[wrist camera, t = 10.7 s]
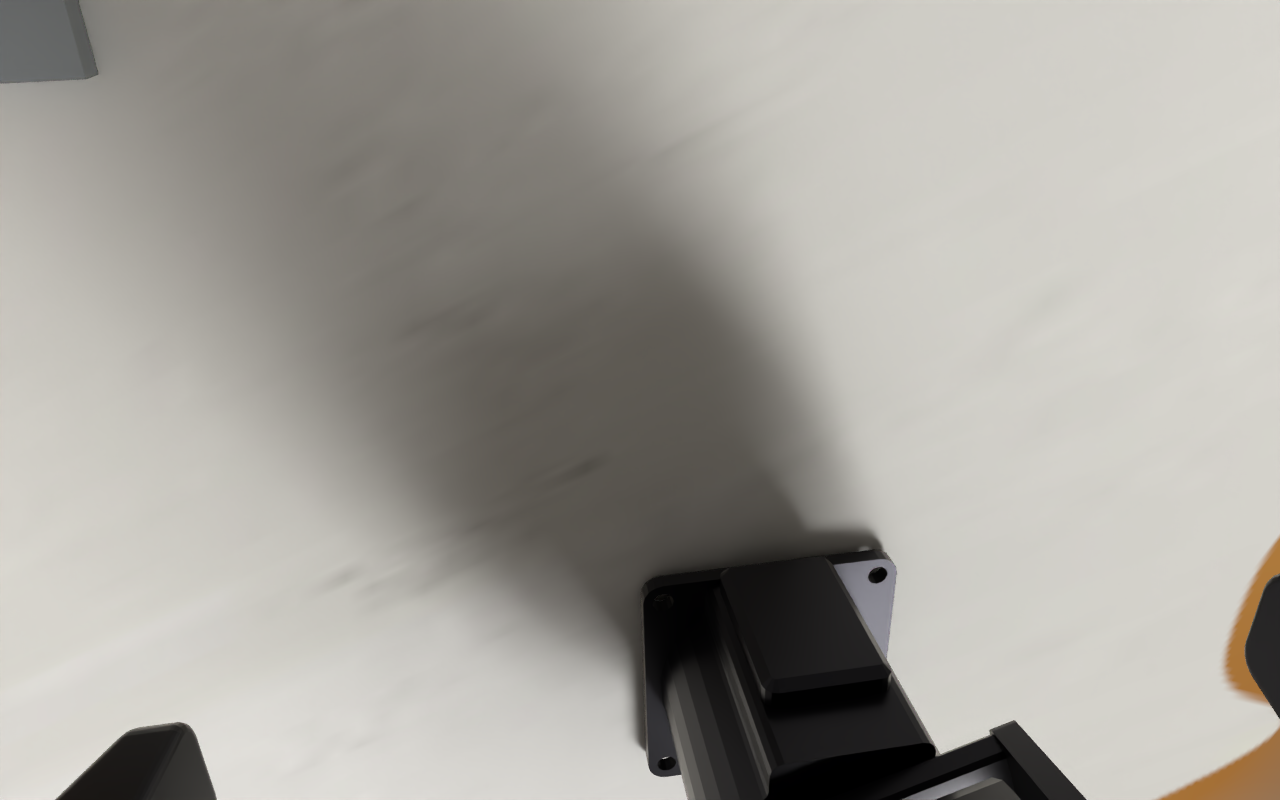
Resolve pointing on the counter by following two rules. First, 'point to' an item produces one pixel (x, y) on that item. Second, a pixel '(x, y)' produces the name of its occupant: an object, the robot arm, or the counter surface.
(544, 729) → the counter surface
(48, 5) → the mat
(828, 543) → the counter surface
